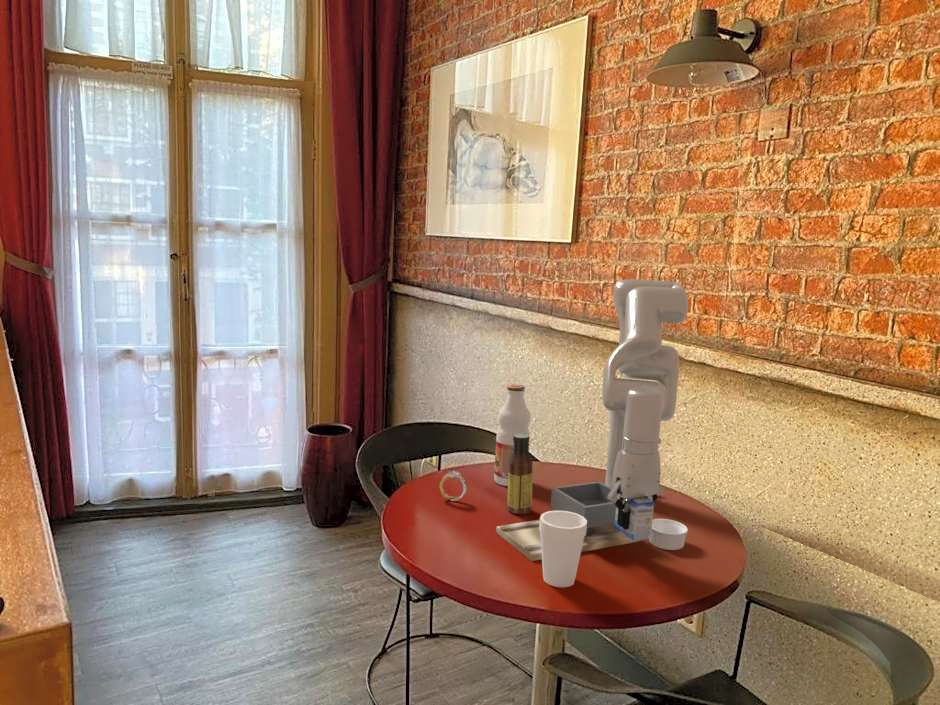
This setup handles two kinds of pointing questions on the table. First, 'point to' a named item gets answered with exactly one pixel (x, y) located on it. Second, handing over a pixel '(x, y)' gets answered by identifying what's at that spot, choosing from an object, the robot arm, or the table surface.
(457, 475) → the bracelet
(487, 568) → the table surface
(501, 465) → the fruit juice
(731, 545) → the table surface
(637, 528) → the medicine box
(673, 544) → the ramekin
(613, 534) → the track board
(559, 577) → the foam cup
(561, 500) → the grey storage bin
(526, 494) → the sauce bottle
